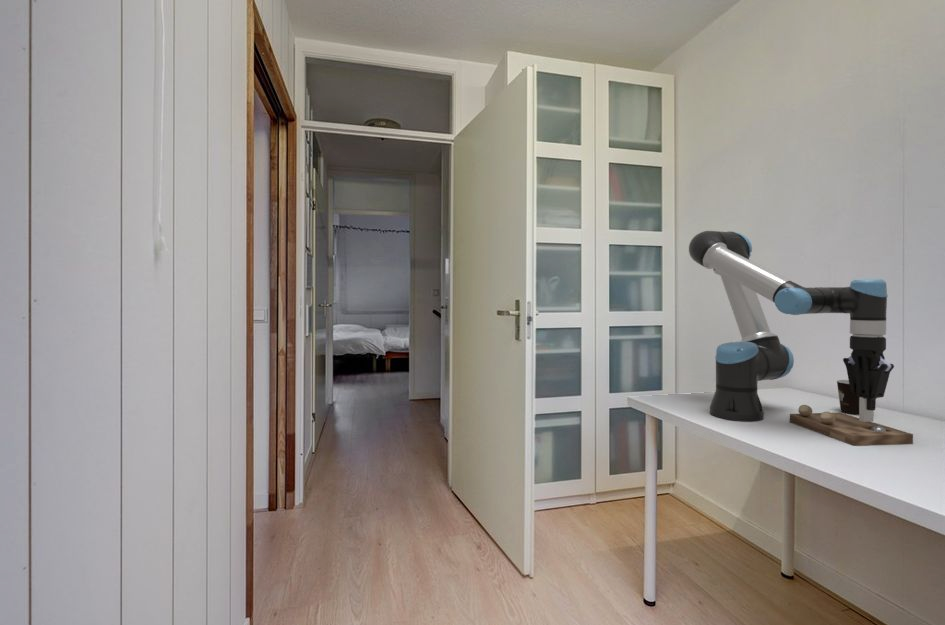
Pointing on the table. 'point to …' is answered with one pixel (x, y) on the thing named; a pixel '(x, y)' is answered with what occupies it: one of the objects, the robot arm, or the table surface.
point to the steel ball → (878, 429)
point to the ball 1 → (805, 410)
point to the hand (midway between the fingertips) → (866, 420)
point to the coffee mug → (847, 398)
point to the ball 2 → (827, 417)
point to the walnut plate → (852, 430)
